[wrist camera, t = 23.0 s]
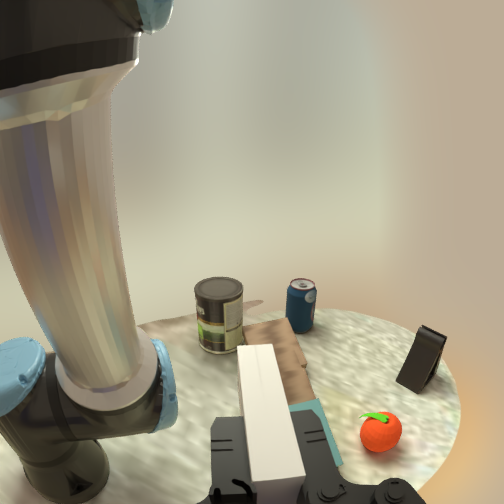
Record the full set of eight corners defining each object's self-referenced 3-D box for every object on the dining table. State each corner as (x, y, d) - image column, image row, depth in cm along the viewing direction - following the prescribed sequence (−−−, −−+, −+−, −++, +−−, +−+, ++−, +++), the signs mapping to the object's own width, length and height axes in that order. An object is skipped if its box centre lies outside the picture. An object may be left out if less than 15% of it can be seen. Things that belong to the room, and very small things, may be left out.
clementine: (342, 447, 43) (352, 422, 40) (361, 421, 48) (370, 394, 45) (384, 465, 38) (399, 441, 36) (400, 437, 43) (413, 411, 41)
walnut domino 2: (260, 411, 49) (242, 354, 57) (258, 416, 50) (241, 360, 59) (314, 398, 52) (292, 345, 60) (310, 403, 53) (289, 351, 62)
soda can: (316, 331, 75) (322, 288, 71) (290, 336, 73) (294, 292, 69) (305, 317, 81) (310, 275, 77) (280, 321, 80) (283, 278, 75)
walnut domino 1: (258, 375, 57) (242, 326, 66) (257, 381, 59) (241, 333, 67) (307, 363, 60) (287, 317, 68) (304, 369, 61) (285, 324, 70)
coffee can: (202, 357, 66) (197, 301, 61) (196, 331, 75) (191, 278, 70) (248, 350, 68) (248, 295, 63) (237, 326, 78) (237, 274, 73)
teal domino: (278, 482, 35) (258, 411, 44) (275, 484, 37) (256, 417, 46) (343, 463, 38) (318, 398, 46) (337, 466, 39) (314, 404, 48)
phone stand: (417, 394, 52) (436, 347, 48) (394, 381, 57) (410, 334, 53) (436, 373, 57) (453, 328, 53) (415, 362, 62) (430, 317, 57)
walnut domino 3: (267, 442, 42) (249, 378, 51) (265, 446, 44) (247, 384, 53) (326, 427, 45) (304, 367, 54) (322, 431, 47) (300, 374, 55)
